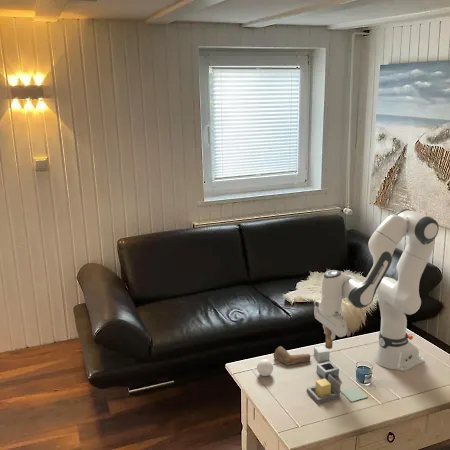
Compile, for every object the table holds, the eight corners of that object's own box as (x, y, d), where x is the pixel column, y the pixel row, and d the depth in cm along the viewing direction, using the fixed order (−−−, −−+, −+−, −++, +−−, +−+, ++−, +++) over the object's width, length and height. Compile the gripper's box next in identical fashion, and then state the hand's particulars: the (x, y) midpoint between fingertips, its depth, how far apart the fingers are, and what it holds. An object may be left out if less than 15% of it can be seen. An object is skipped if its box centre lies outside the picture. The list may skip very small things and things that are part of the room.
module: (324, 390, 220) (324, 378, 218) (330, 396, 216) (330, 384, 214) (315, 393, 218) (315, 380, 216) (320, 399, 214) (321, 386, 212)
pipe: (313, 354, 239) (304, 340, 248) (279, 359, 235) (272, 345, 243) (311, 365, 242) (303, 351, 250) (278, 370, 238) (271, 356, 246)
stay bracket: (329, 368, 235) (330, 361, 234) (338, 376, 229) (338, 368, 228) (316, 372, 233) (316, 364, 232) (324, 380, 227) (325, 372, 226)
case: (328, 385, 223) (329, 373, 221) (340, 397, 215) (341, 384, 213) (306, 391, 219) (307, 379, 217) (318, 403, 211) (318, 391, 209)
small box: (329, 360, 242) (329, 351, 241) (318, 362, 241) (318, 352, 240) (324, 354, 248) (324, 345, 246) (313, 355, 246) (313, 346, 245)
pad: (356, 387, 222) (356, 386, 221) (367, 397, 214) (367, 396, 214) (340, 391, 219) (340, 390, 219) (351, 402, 212) (351, 401, 212)
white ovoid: (269, 369, 236) (269, 354, 234) (275, 377, 229) (275, 363, 227) (248, 372, 233) (248, 358, 231) (254, 381, 227) (254, 367, 224)
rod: (329, 344, 229) (330, 324, 226) (333, 347, 226) (334, 327, 223) (324, 346, 228) (324, 325, 225) (327, 349, 225) (328, 328, 222)
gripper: (351, 316, 213) (349, 346, 217) (324, 297, 232) (323, 325, 236) (338, 319, 211) (336, 349, 215) (312, 299, 229) (311, 327, 233)
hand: (329, 336), depth 225 cm, fingers closed on rod, 3 cm apart
